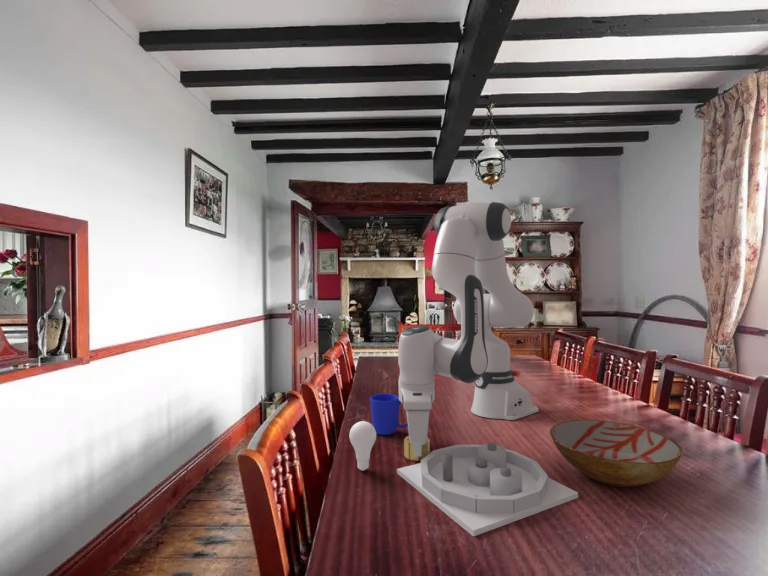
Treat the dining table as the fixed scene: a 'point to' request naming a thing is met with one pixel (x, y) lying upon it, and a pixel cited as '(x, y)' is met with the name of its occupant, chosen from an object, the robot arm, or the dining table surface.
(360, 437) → the lightbulb
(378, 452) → the dining table surface
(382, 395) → the mug
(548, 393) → the dining table surface
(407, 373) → the robot arm
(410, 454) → the wooden octagonal ring
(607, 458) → the bowl
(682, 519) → the dining table surface
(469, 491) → the carrier board
